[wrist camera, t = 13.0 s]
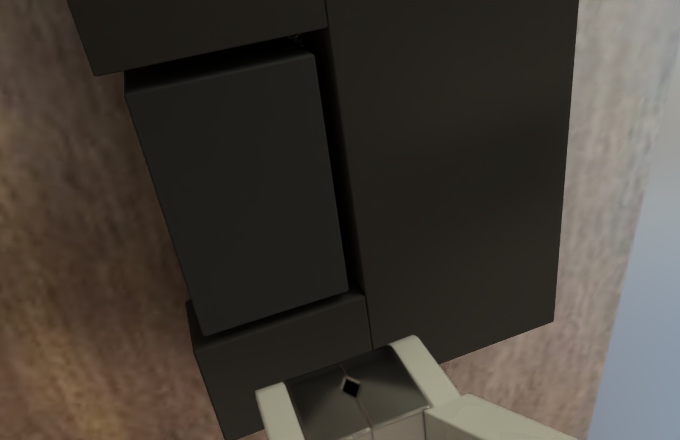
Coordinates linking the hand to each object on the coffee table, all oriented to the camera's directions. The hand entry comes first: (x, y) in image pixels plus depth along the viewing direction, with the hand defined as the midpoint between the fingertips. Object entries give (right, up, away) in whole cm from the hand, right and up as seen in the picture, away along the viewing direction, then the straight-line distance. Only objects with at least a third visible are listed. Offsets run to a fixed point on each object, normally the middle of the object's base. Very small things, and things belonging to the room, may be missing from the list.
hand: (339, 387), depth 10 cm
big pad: (0, +6, +10) cm, 11 cm away
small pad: (-4, +5, +9) cm, 11 cm away
